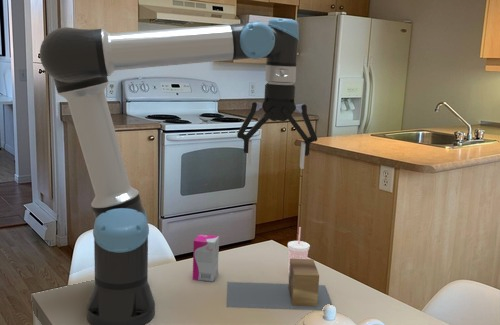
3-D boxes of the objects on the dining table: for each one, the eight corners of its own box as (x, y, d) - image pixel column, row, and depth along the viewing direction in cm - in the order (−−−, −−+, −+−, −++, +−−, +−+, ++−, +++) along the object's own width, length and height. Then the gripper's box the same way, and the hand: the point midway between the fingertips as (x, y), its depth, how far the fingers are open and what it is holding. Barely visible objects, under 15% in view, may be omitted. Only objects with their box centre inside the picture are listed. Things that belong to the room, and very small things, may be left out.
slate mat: (226, 309, 124) (226, 307, 124) (227, 283, 138) (227, 281, 138) (334, 312, 125) (334, 310, 125) (324, 287, 139) (325, 285, 138)
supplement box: (218, 275, 143) (219, 235, 140) (213, 284, 137) (214, 242, 135) (198, 272, 144) (199, 233, 141) (191, 281, 138) (193, 240, 136)
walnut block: (288, 287, 136) (290, 258, 135) (311, 288, 136) (313, 259, 135) (292, 305, 126) (294, 274, 125) (316, 306, 127) (319, 275, 125)
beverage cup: (290, 268, 149) (293, 222, 147) (310, 273, 147) (314, 226, 144) (282, 276, 144) (285, 228, 141) (303, 281, 141) (307, 232, 139)
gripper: (230, 81, 125) (226, 167, 129) (332, 86, 126) (325, 172, 130) (230, 80, 133) (227, 161, 137) (327, 84, 133) (321, 165, 138)
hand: (275, 166), depth 134 cm, fingers open, 13 cm apart
